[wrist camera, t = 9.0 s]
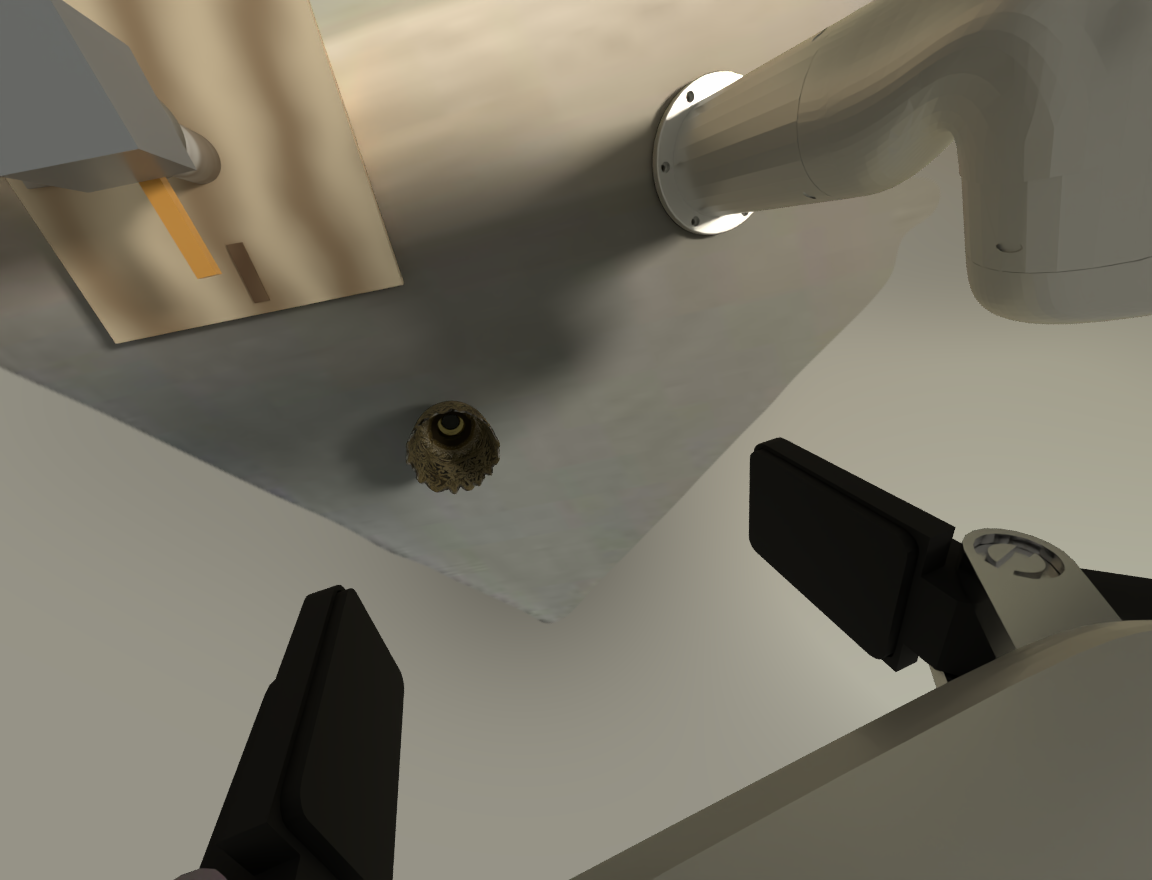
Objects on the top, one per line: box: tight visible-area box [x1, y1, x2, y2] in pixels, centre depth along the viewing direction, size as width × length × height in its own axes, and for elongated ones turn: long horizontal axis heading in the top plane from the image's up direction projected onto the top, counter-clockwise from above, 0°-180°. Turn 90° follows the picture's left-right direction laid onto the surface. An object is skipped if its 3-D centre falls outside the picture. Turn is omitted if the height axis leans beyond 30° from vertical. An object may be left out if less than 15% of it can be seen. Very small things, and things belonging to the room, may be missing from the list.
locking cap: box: [0, 0, 222, 279], centre depth 20 cm, size 10×5×7 cm, turn 14°
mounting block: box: [5, 0, 404, 344], centre depth 26 cm, size 20×20×8 cm
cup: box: [406, 401, 500, 494], centre depth 38 cm, size 8×7×8 cm
